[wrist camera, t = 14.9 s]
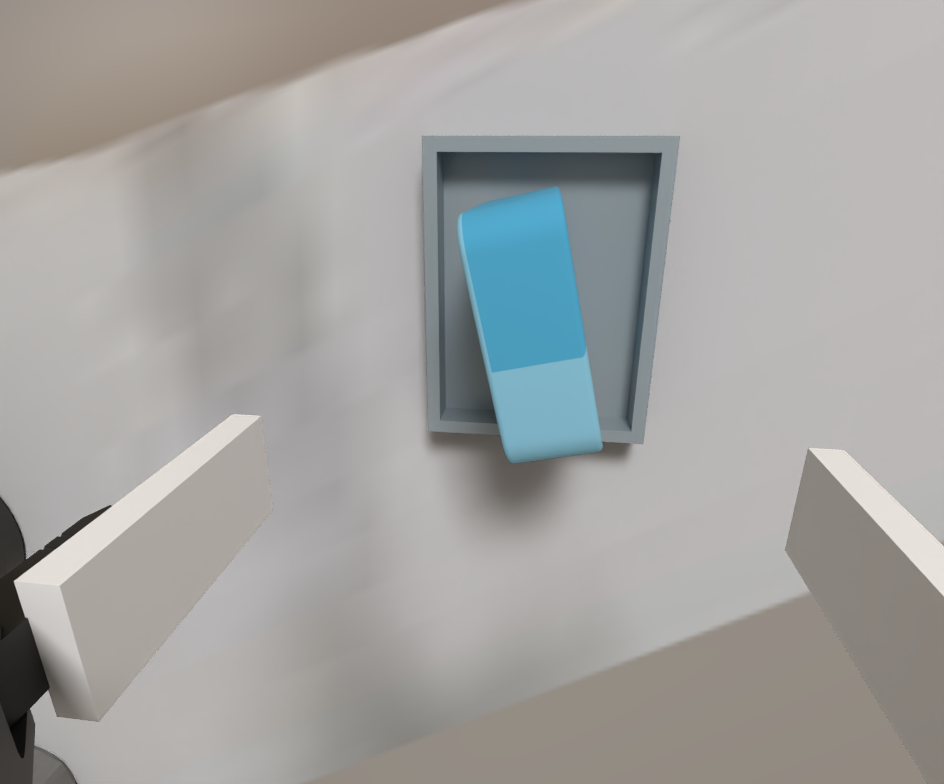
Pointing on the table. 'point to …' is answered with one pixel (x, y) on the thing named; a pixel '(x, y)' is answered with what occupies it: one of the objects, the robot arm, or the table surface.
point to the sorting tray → (593, 252)
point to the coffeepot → (50, 769)
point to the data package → (530, 325)
